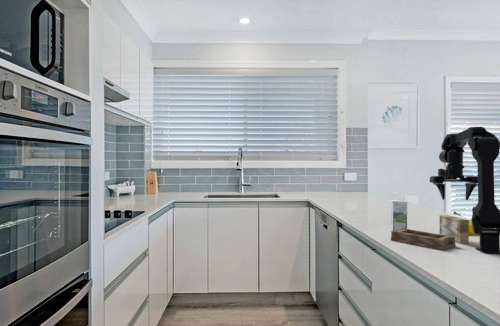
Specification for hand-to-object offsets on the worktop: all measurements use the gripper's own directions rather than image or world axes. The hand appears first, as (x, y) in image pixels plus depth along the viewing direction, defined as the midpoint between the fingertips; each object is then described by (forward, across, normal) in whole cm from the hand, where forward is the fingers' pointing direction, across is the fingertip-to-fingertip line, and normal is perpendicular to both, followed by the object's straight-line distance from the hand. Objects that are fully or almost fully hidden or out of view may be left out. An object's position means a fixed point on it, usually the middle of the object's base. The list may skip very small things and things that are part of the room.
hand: (455, 199), depth 151 cm
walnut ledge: (+15, +19, +18) cm, 30 cm away
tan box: (+15, +5, +11) cm, 19 cm away
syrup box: (+15, +23, +1) cm, 27 cm away
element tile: (+15, -8, -8) cm, 19 cm away
